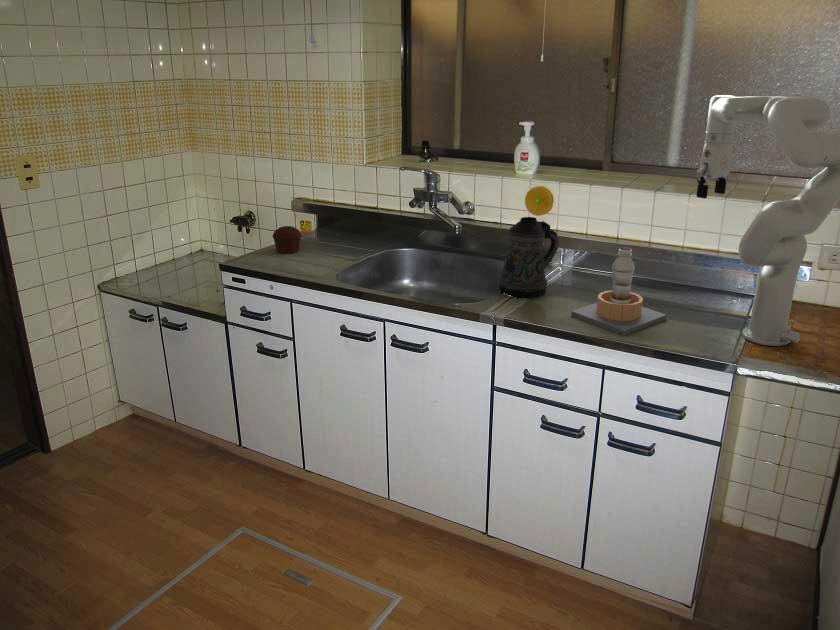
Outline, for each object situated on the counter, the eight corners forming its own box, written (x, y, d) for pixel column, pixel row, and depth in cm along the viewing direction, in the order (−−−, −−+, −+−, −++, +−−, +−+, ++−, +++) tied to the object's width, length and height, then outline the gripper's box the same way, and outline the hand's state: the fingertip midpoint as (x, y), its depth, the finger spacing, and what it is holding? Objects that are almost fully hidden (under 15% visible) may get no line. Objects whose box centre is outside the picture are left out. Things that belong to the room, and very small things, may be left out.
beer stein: (488, 291, 242) (489, 219, 232) (522, 277, 254) (525, 209, 245) (527, 302, 231) (531, 227, 222) (561, 288, 243) (566, 216, 234)
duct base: (666, 319, 216) (668, 299, 214) (624, 335, 205) (626, 314, 203) (613, 301, 231) (614, 282, 229) (571, 315, 220) (572, 295, 217)
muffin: (270, 254, 285) (268, 230, 281) (277, 247, 295) (274, 223, 291) (300, 255, 284) (298, 230, 281) (305, 247, 295) (303, 223, 291)
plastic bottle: (635, 313, 217) (641, 249, 210) (619, 317, 214) (625, 253, 206) (619, 306, 222) (625, 245, 215) (603, 311, 219) (609, 248, 211)
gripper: (713, 142, 205) (705, 201, 211) (746, 137, 215) (737, 193, 221) (690, 140, 210) (683, 197, 217) (723, 134, 220) (715, 189, 226)
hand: (710, 195), depth 219 cm, fingers open, 9 cm apart
